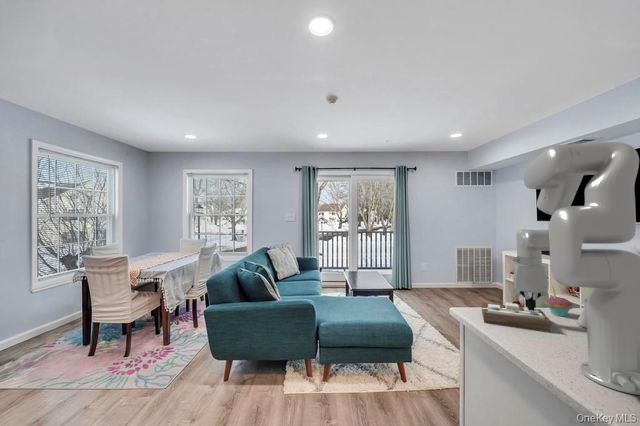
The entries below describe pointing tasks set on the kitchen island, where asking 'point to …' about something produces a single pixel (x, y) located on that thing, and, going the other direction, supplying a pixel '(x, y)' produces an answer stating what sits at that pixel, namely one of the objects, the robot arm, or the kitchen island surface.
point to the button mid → (511, 306)
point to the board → (516, 318)
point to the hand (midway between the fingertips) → (530, 309)
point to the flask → (583, 316)
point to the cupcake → (558, 305)
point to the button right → (531, 310)
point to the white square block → (493, 306)
